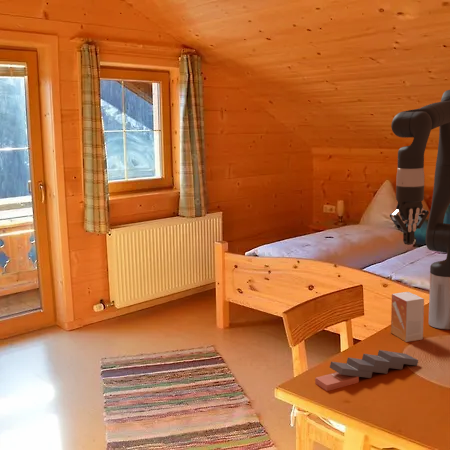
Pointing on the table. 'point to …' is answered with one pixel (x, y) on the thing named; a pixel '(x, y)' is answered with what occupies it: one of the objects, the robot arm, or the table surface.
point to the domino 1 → (335, 381)
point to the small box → (407, 316)
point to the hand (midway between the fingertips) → (408, 244)
